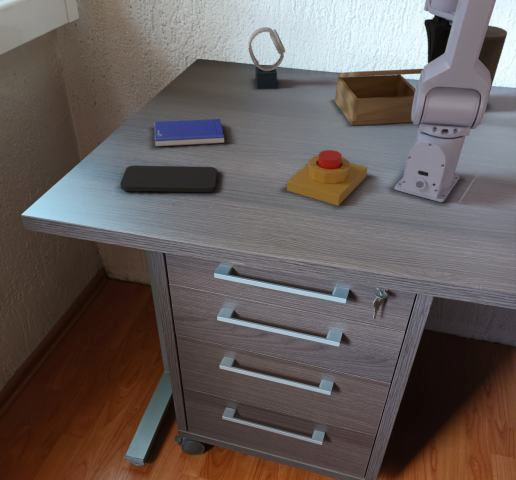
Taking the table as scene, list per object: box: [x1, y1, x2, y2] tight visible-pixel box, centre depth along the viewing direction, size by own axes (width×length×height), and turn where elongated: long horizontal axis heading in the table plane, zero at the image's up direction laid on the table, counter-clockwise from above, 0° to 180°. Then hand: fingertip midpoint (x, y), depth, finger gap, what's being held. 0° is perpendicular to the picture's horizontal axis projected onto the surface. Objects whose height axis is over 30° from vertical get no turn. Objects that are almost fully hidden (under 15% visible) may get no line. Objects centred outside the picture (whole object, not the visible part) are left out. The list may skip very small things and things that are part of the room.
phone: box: [120, 165, 218, 193], centre depth 85 cm, size 7×1×15 cm
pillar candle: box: [478, 25, 508, 98], centre depth 106 cm, size 10×10×15 cm
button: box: [318, 149, 343, 169], centre depth 83 cm, size 4×4×2 cm
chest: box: [334, 75, 416, 126], centre depth 106 cm, size 13×14×5 cm
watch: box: [247, 26, 286, 89], centre depth 114 cm, size 6×8×11 cm
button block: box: [286, 154, 368, 206], centre depth 84 cm, size 11×9×4 cm
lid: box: [337, 68, 424, 78], centre depth 102 cm, size 13×14×1 cm
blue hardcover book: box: [154, 118, 225, 147], centre depth 97 cm, size 2×8×12 cm
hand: (434, 65), depth 96 cm, fingers closed
